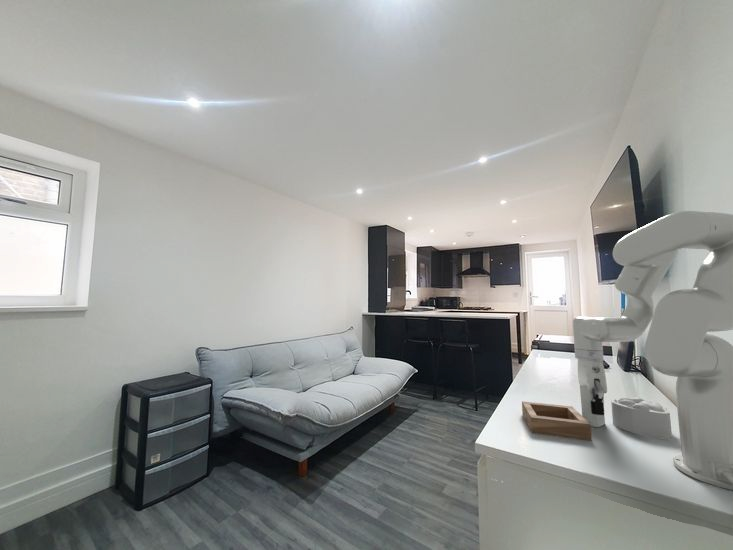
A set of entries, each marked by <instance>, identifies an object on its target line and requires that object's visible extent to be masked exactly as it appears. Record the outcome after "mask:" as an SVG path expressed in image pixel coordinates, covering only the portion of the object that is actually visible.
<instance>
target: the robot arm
mask: <svg viewBox="0 0 733 550" xmlns="http://www.w3.org/2000/svg"><path fill="white" fill-rule="evenodd" d="M681 249H688V250H690V249H691V250H706V251H709V254H708V256H707V257H706V258H705V259H704V260H703V262H702V263H701V265H700V266H699V268H698V270H697V274H696V279H695V281H694V284H693V286H692V288H686V289H684V288H683V289H677V290H674V291H670V292H668V293H667V294H665V295H664V296H662V298H661V299H659V301H658V302H657V304H656V306H655V308H654V301H653V295H654V293H655V291H656V290H657V288H658V287H659V285H660V283H661V282H662V280H663V279H664V277H665V275H666V274H667V272H668V271H669V269H670V267H671V266H672V264H673V263H674V261H675V259H676V257H677V255H678V251H679V250H681ZM612 257H613V260H614V261H615V262H616V264H618V265H620V266H623V268H622V270H621V272H620V274H619V275H618V277H617V279H616V280H615V282H614V287H615V288H616V290H617V291H618V292H620V293H621V294H623V295H625V296H626V299H627V305H626V307H625V309H624V311H623V312H622V314H621V316H618V317H617V316H615V317H614V316H613V317H612V316H611V317H610V316H609V317H595V316H577V317H576V316H575V317H574V318H573V320H572V327H573V328H572V329H573V330H572V331H573V332H572V333H573V344H574V345H573V346H574V358H575V359H576V360H577V378H578V380H577V381H578V384H579V386H580V385H582V384H583V385H585V387H586V390H588V391H589V392H590V394H591V398H592V401H591V413H592V414H595V415H604V416H605V406H604V405H605V401H604V400H605V399H604V398H605V397H604V396H605V394H607V392H608V385H607V378H606V376H607V375H606V371H605V367H604V362H603V361H605V358H604V348H603V347H604V345H603V343H618V342H619V343H621V342H622V343H623V342H633V341H636V340H638V339H639V338H640V337H641V336H642V335H643V334H644V333H645V331H646V330H647V328H648V326H649V330H648V333H647V336H646V339H645V346H644V355H645V358H646V361H647V362H648V363H649V365H650V366H651V368H653V369H654V370H655V371H657V372H658V373H660V374H662V375H665V376H670V377H677V378H676V382H675V397H676V400H675V401H676V408H677V409H676V410H677V420H678V421H677V422H678V430H679V441H680V448H681V449H680V450H681V454H680V455H675V456H674V457H673V458H672V463H673V465H674V466H675V467H676V468H677V469H678V470H679V471H681V472H682V473H684V474H686V475H688V476H689V477H692V478H693V479H696V480H698V481H701V482H703V483H706V484H708V485H709V484H710V485H712V486H716V487H719V488H723V489H725V490H726V489H727V490H731V491H733V345H732V344H731V343H730V342H729V341H727V340H726V339H724V338H722V337H720V336H717V335H713V334H708V332H710V333H711V332H712V333H713V332H727V331H732V330H733V214H732V213H724V212H714V211H713V212H711V211H698V210H697V211H695V210H682V211H676V212H673V213H670V214H666V215H664V216H662V217H660V218H658V219H657V220H654V221H652V222H650V223H648V224H646V225H644V226H642V227H640V228H638V229H635V230H633V231H632V232H630V233H628V234H626V235H624V236H623V237H621V238H620V239H619V240H618V241H617V242H616V243H615V245H614V247H613V250H612ZM593 388H595V390H597V391H593V390H592V389H593ZM594 393H595V394H596V395H595V397H594Z"/></svg>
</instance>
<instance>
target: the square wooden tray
mask: <svg viewBox="0 0 733 550" xmlns="http://www.w3.org/2000/svg"><path fill="white" fill-rule="evenodd" d="M521 408H522V410H521V411H522V417H523V416H524V417H523V418H524V420H525V422H526V424H527V425H528V428H529V431H530V432H531V434H536V433H537V435H538V434H539V435H545V436H551V435H552V436H553V437H561V438H568V439H574V438H575V439H577V440H582V441H583V440H584V441H592V440H593V438H592V437H593V436H592V426H591V424H590V423H589V422H588V421H587V420H586V419H585V418H584V417H583V416H582V413H581V414H580V412H579V411H577V410H576V409H575V408H574V407H573V406H572V405H571V406H570V405H560V404H551V403H542V402H541V403H540V402H531V401H521Z"/></svg>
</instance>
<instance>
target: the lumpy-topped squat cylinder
mask: <svg viewBox="0 0 733 550" xmlns="http://www.w3.org/2000/svg"><path fill="white" fill-rule="evenodd" d="M611 414H612V415H611V416H612V417H611V418H612V425H613V426H615V427H616V428H618V429H621V430H623V431H627V432H629V433H633V434H636V435H640V436H646V437H650V438H656V439H660V440H661V439H662V440H672V439H673V433H672V432H673V431H672V423H671V422H672V421H671V414H670V412H669V411H668V410H667V407H666V406H663V405H661V404H660V403H658V402H655V401H648V400H644V399H643V398H641V397H638V396H637V397H631V398H630V397H625V396H624V397H623V396H622V397H620V398H619V399H613V400H611Z"/></svg>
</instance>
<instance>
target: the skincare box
mask: <svg viewBox="0 0 733 550" xmlns="http://www.w3.org/2000/svg"><path fill="white" fill-rule="evenodd" d="M592 390H593V391H597V390H595V388H593V389H592ZM579 391H580V392H579V394H580V403H581V405H580V407H581V415H582V416H583V417H584V418H585V419H586V420H587V421H588V422H589V423H590V424H591V427H594V428H600V427H603V426H604V425H605V424H606V419H605V418H606V417H605V414H604V415H595V414H592V413H591V401H592V398H591V394H590V392H589V391H588V390H586V387H585V385H583V384H582V385H580V384H579ZM595 395H596V394H595V393H594V397H595Z"/></svg>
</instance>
